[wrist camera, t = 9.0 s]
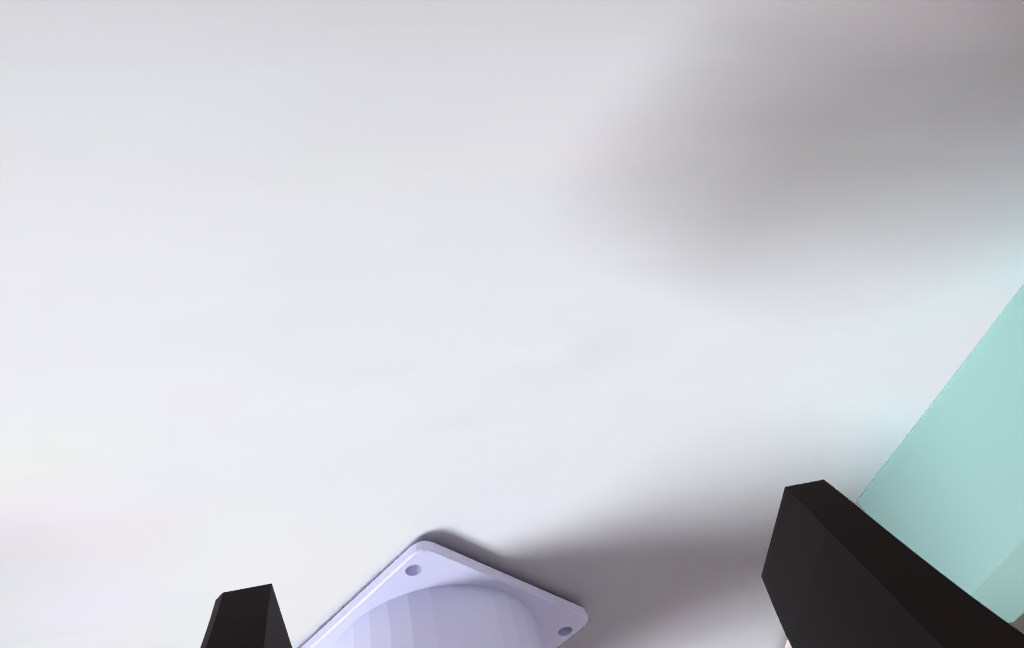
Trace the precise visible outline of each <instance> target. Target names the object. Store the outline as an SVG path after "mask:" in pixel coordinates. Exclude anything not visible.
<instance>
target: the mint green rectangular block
mask: <svg viewBox="0 0 1024 648" xmlns="http://www.w3.org/2000/svg"><path fill="white" fill-rule="evenodd" d="M857 502H858V504H859V505H860V506H861V508H862V509H863V510H864V512H865V513H866V514H868V515H869V516H870V517H871V518H872V519H874V520H875V521H876V522H877V523H879V524H880V525H881V526H882V527H884V528H885V529H886V530H887V531H889V532H890V533H891V534H892V535H894V536H895V537H896V538H897V539H899V540H900V541H901V542H902V543H904V544H905V545H906V546H907V547H909V548H910V549H911V550H912V551H914V552H915V553H916V554H917V555H919V556H920V557H921V558H923V559H924V560H925V561H926V562H928V563H929V564H930V565H932V566H933V567H934V568H935V569H937V570H938V571H939V572H940V573H942V574H943V575H944V576H946V577H947V578H948V579H950V580H951V581H952V582H954V583H955V584H956V585H958V586H959V587H960V588H961V589H963V590H964V591H965V592H967V593H968V594H969V595H971V596H972V597H973V598H975V599H976V600H977V601H979V602H980V603H981V604H983V605H984V606H985V607H987V608H988V609H990V610H991V611H992V612H994V613H995V614H996V615H998V616H999V617H1000V618H1002V619H1003V620H1005V621H1006V622H1014V621H1015V620H1016V619H1017V618H1018V617H1019V616H1020V615H1022V614H1023V613H1024V284H1023V286H1022V287H1021V288H1020V289H1019V291H1018V292H1017V293H1016V295H1015V296H1014V297H1013V299H1012V300H1011V301H1010V302H1009V304H1008V305H1007V306H1006V308H1005V309H1004V310H1003V312H1002V313H1001V314H1000V315H999V317H998V318H997V319H996V321H995V322H994V323H993V325H992V326H991V327H990V328H989V330H988V331H987V332H986V334H985V335H984V336H983V338H982V339H981V340H980V341H979V343H978V344H977V345H976V347H975V348H974V349H973V351H972V352H971V353H970V354H969V356H968V357H967V358H966V360H965V361H964V362H963V364H962V365H961V366H960V367H959V369H958V370H957V371H956V373H955V374H954V375H953V377H952V378H951V379H950V380H949V382H948V383H947V384H946V386H945V387H944V388H943V390H942V391H941V392H940V393H939V395H938V396H937V397H936V399H935V400H934V401H933V403H932V404H931V405H930V406H929V408H928V409H927V410H926V412H925V413H924V414H923V416H922V417H921V418H920V419H919V421H918V422H917V423H916V425H915V426H914V427H913V429H912V430H911V431H910V432H909V434H908V435H907V436H906V438H905V439H904V440H903V442H902V443H901V444H900V445H899V447H898V448H897V449H896V451H895V452H894V453H893V455H892V456H891V457H890V458H889V460H888V461H887V462H886V464H885V465H884V466H883V468H882V469H881V470H880V471H879V473H878V474H877V475H876V477H875V478H874V479H873V481H872V482H871V483H870V484H869V486H868V487H867V488H866V490H865V491H864V492H863V494H862V495H861V496H860V497H859V499H858V500H857Z"/></svg>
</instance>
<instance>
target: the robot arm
mask: <svg viewBox="0 0 1024 648" xmlns="http://www.w3.org/2000/svg"><path fill="white" fill-rule="evenodd" d="M411 565H412V566H411ZM761 577H762V579H763V582H764V584H765V586H766V589H767V591H768V594H769V596H770V599H771V601H772V604H773V606H774V608H775V611H776V613H777V616H778V618H779V620H780V622H781V625H782V627H783V629H784V631H785V634H786V636H787V638H788V640H789V643H790V645H791V647H792V648H1024V634H1023V633H1022V632H1020V631H1019V630H1017V629H1016V628H1014V627H1013V626H1012V625H1010V624H1009V623H1007V622H1006V621H1005V620H1003V619H1002V618H1000V617H999V616H998V615H996V614H995V613H994V612H992V611H991V610H990V609H988V608H987V607H985V606H984V605H983V604H981V603H980V602H979V601H977V600H976V599H975V598H973V597H972V596H971V595H969V594H968V593H967V592H965V591H964V590H963V589H961V588H960V587H959V586H958V585H956V584H955V583H954V582H952V581H951V580H950V579H948V578H947V577H946V576H944V575H943V574H942V573H940V572H939V571H938V570H937V569H935V568H934V567H933V566H932V565H930V564H929V563H928V562H926V561H925V560H924V559H923V558H921V557H920V556H919V555H917V554H916V553H915V552H914V551H912V550H911V549H910V548H909V547H907V546H906V545H905V544H904V543H902V542H901V541H900V540H899V539H897V538H896V537H895V536H894V535H892V534H891V533H890V532H889V531H887V530H886V529H885V528H884V527H882V526H881V525H880V524H879V523H877V522H876V521H875V520H874V519H872V518H871V517H870V516H869V515H868V514H866V513H865V512H864V511H863V510H861V509H860V508H859V507H858V506H856V505H855V504H854V503H853V502H851V501H850V500H849V499H848V498H846V497H845V496H844V495H843V494H841V493H840V492H839V491H838V490H836V489H835V488H834V487H833V486H831V485H830V484H829V483H827V482H826V481H825V480H819V481H814V482H809V483H804V484H798V485H793V486H788V487H785V489H784V493H783V497H782V500H781V504H780V508H779V512H778V516H777V519H776V523H775V527H774V531H773V534H772V538H771V542H770V546H769V549H768V553H767V557H766V561H765V564H764V568H763V572H762V576H761ZM587 622H588V617H587V614H586V611H585V609H584V608H583V607H581V606H578V605H576V604H574V603H572V602H569V601H567V600H565V599H562V598H560V597H558V596H555V595H553V594H551V593H549V592H546V591H544V590H542V589H539V588H537V587H535V586H532V585H530V584H528V583H526V582H523V581H521V580H519V579H516V578H514V577H512V576H509V575H507V574H505V573H503V572H500V571H498V570H496V569H493V568H491V567H489V566H487V565H484V564H482V563H480V562H477V561H475V560H473V559H470V558H468V557H466V556H464V555H461V554H459V553H457V552H454V551H452V550H450V549H447V548H445V547H443V546H441V545H438V544H436V543H434V542H430V541H420V542H417V543H415V544H413V545H412V546H410V547H409V548H408V549H407V550H406V551H405V552H404V553H403V554H402V555H401V556H400V557H399V558H397V559H396V560H395V561H394V562H393V563H392V564H391V565H390V566H389V567H388V568H387V569H385V570H384V571H383V572H382V573H381V574H380V575H379V576H378V577H377V578H376V579H375V580H374V581H372V582H371V583H370V584H369V585H368V586H367V587H366V588H365V589H364V590H363V591H362V592H360V593H359V594H358V595H357V596H356V597H355V598H354V599H353V600H352V601H351V602H350V603H349V604H347V605H346V606H345V607H344V608H343V609H342V610H341V611H340V612H339V613H338V614H337V615H336V616H334V617H333V618H332V619H331V620H330V621H329V622H328V623H327V624H326V625H325V626H324V627H322V628H321V629H320V630H319V631H318V632H317V633H316V634H315V635H314V636H313V637H312V638H311V639H309V640H308V641H307V642H306V643H305V644H304V645H303V646H302V647H301V648H558V647H559V646H560V645H561V644H563V643H564V642H565V641H566V640H568V639H569V638H570V637H572V636H573V635H574V634H575V633H577V632H578V631H579V630H580V629H582V628H583V627H584V626H585V625H586V624H587ZM201 648H292V646H291V643H290V640H289V637H288V633H287V630H286V627H285V624H284V621H283V618H282V615H281V611H280V608H279V605H278V602H277V599H276V596H275V593H274V589H273V586H272V584H267V585H261V586H256V587H251V588H245V589H240V590H235V591H229V592H224V593H222V594H221V595H220V596H219V597H218V598H217V599H216V601H215V605H214V608H213V611H212V615H211V618H210V621H209V624H208V627H207V630H206V633H205V636H204V639H203V642H202V645H201Z"/></svg>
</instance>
